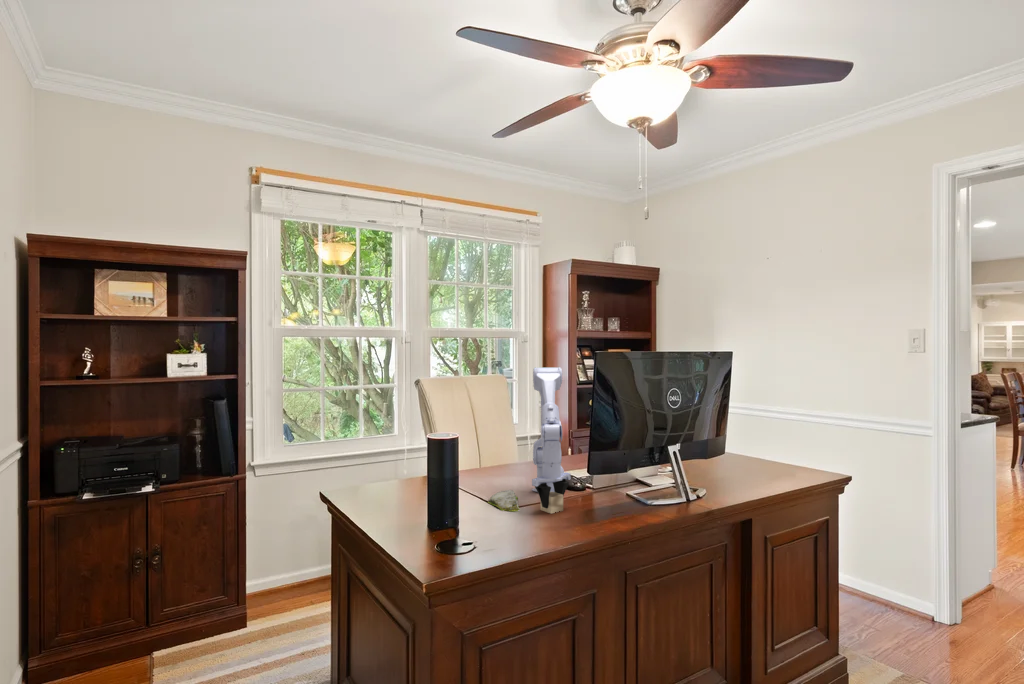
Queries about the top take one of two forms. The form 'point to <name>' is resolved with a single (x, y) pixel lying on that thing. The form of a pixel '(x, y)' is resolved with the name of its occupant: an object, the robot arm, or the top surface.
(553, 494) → the beech block
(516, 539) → the top surface
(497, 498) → the decorative stone
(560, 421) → the robot arm
